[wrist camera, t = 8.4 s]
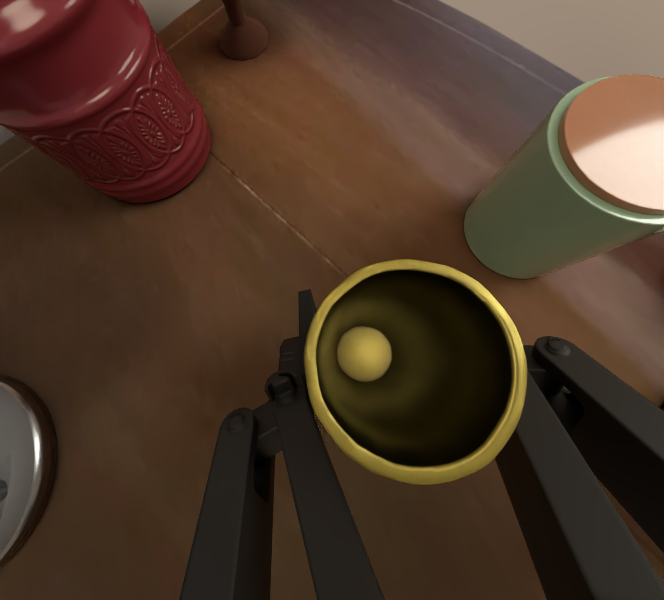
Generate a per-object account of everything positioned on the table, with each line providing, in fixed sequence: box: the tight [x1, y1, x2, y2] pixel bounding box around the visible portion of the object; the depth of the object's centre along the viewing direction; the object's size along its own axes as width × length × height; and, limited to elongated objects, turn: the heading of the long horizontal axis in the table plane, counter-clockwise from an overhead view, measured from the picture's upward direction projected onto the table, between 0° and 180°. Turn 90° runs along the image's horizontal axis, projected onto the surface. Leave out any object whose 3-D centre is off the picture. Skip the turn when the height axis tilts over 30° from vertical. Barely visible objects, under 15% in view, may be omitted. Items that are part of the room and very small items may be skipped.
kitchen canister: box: [0, 0, 211, 203], centre depth 16 cm, size 13×13×18 cm
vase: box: [304, 259, 527, 485], centre depth 13 cm, size 6×6×14 cm
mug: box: [464, 75, 664, 279], centre depth 17 cm, size 9×12×9 cm
